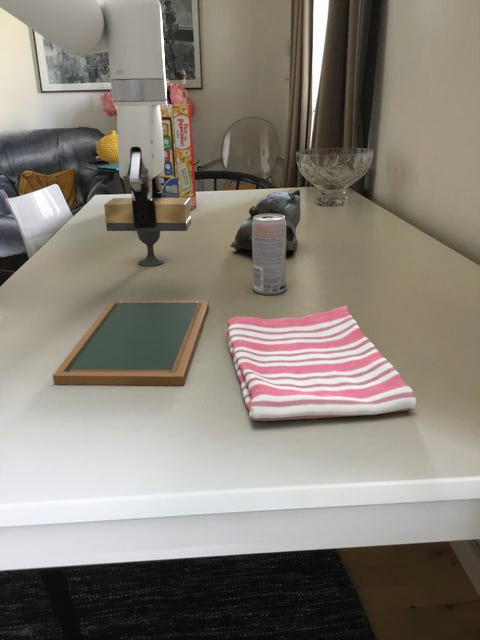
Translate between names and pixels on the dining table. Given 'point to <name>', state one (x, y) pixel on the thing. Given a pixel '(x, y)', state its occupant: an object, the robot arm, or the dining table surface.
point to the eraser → (168, 212)
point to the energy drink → (269, 253)
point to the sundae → (150, 247)
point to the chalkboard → (137, 345)
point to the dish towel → (313, 368)
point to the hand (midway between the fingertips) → (149, 221)
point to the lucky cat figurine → (273, 205)
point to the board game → (178, 153)
